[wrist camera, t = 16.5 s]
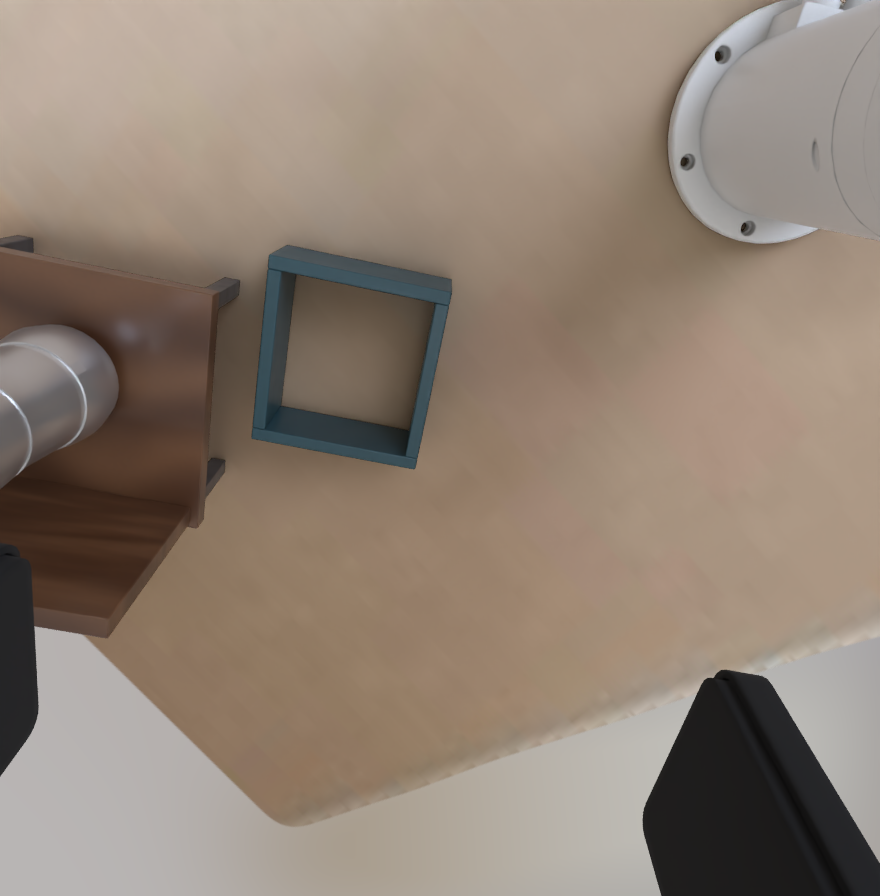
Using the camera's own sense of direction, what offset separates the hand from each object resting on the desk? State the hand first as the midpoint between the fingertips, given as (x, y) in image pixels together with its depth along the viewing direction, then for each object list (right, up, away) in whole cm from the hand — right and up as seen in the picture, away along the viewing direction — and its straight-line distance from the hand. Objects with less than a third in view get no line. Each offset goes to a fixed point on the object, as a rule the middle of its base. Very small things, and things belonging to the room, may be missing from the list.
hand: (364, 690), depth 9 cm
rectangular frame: (-5, +10, +35) cm, 37 cm away
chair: (-20, +9, +36) cm, 42 cm away
